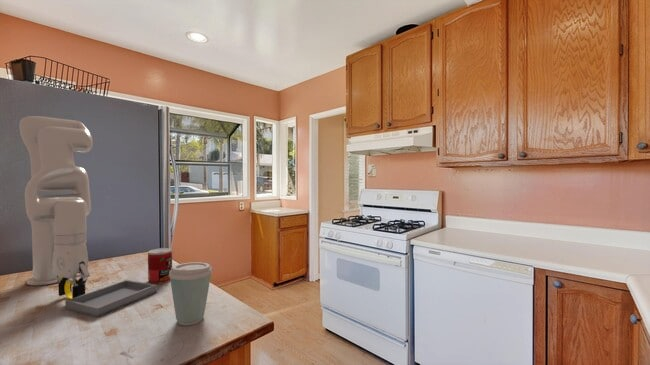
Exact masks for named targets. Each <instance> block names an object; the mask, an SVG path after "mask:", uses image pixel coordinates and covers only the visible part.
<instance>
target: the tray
mask: <svg viewBox="0 0 650 365" xmlns="http://www.w3.org/2000/svg"><path fill="white" fill-rule="evenodd" d="M157 289H158V288H157V284H155V283H148V282H142V281H137V280H131V279H125V280H122V281H119V282H115V283H113V284H109V285H107V286H105V287H101V288H98V289H96V290H93V291H89V292H87V293H85V294H84V295H81V296H78V297H75V298H72V299H69V298H68V299H66V300H65V302H64V303H65V305H64V306H65V307H64V308H65V310H66V311H67V310H68V311H71V312H75V313H78V314H83V315H86V316H90V317H93V318H94V317H95V318H101V317H102V316H103V317H104V316H105V315H106V314H109V313H112V312H114V311H116V310H119V309H122V308H125V307H126V306H128V305H131V304H133V303H136V302H138V301H140V300H142V299H145V298H146V297H149V296H151V295H153V294H156V293H158V291H157Z"/></svg>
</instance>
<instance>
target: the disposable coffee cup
mask: <svg viewBox="0 0 650 365" xmlns="http://www.w3.org/2000/svg"><path fill="white" fill-rule="evenodd" d="M212 273H213V267H212V266H211V264H210V263H208V262H199V261H198V262H197V261H195V262H194V261H192V262H191V261H190V262H185V263H179V264H178V263H177V264H175V265H172V268H171V271H170V272H169V277H170V280H169V281H170V288H171V294H172V299H173V307H174V313H175V321H177V323H178V324H179V325H181V326H192V325H195V324H198V323H200V322H201V321H203V318H204V317H205V313H206V312H205V311H206V306H207V301H208V300H207V299H208V294H209V287H210V282H211V278H212V277H211V276H212Z"/></svg>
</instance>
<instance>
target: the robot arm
mask: <svg viewBox="0 0 650 365" xmlns="http://www.w3.org/2000/svg"><path fill="white" fill-rule="evenodd" d="M18 127H19V133H20V137H21V140H22V142H23V144H24V145H25V147H26V149H27V151H28V153H29V159H30V160H29V161H30V173H31V175H30V176H31V178H30V179H29V180H28V182H27V184H26V185H25V190H24V201H25V202H24V203H25V205H24V206H25V211H26V212H25V213H26V216H27V219H29V221H30V224H31V225H30V226H31V242H32V243H31V244H32V247H31V248H32V270H31V272H32V277H30V278H28V279H27V280H26V283H27V285H29V286H32V287H33V286H44V285H52V284H56V283H58V284H57V285H58V286H57V287H58V296H60V297H61V296H64V295H65V296H66V294H65V291H64V286H65V283H66V280H68V279H72V280H73V284H74V286H73V285H72V284H70V291H71V294H72V298H75V297H78V296H81V295H84V294H86V284H87V282H88V278H90V277H91V274H90V272H89V255H88V254H89V253H88V248H87V244H86V243H87V242H88V240H87V239H88V238H87V234H88V233H87V230H88V229H87V216H89V215H90V213H91V211H92V202H91V201H92V200H91V193H90V192H91V191H90V180H89V175H88V173H87V170H86V169H85V168H84V167H81V166H76V164H75V158H74V152H79V153H89V152H90V151H91V150H92V148H93V146H94V145H93V144H94V143H93V142H94V141H93V136H92V134H91V132H90V130H89V129H88V128H87V127H86V126H85V125H84V123H83V122H81V121H79V120H74V119H67V118H66V119H65V118H58V117H49V116H39V115H32V116H31V115H30V116H24V117H23V118H21V119H20V121H19V126H18ZM38 191H41V192H64V191H71V192H72V193H54V194H53V193H51V194H42V195H38ZM77 274H78V275H77ZM77 279H78V281H77Z"/></svg>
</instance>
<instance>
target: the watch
mask: <svg viewBox="0 0 650 365" xmlns="http://www.w3.org/2000/svg"><path fill="white" fill-rule="evenodd" d="M78 280H79V278H77V281H78ZM70 284H71V286H72V287H73V286H74V284H73V280H72V278H70V279H68V280H66V283H65V286H64V291H65V298H67V299H68V300H69V299H72V292H71V291H70Z"/></svg>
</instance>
